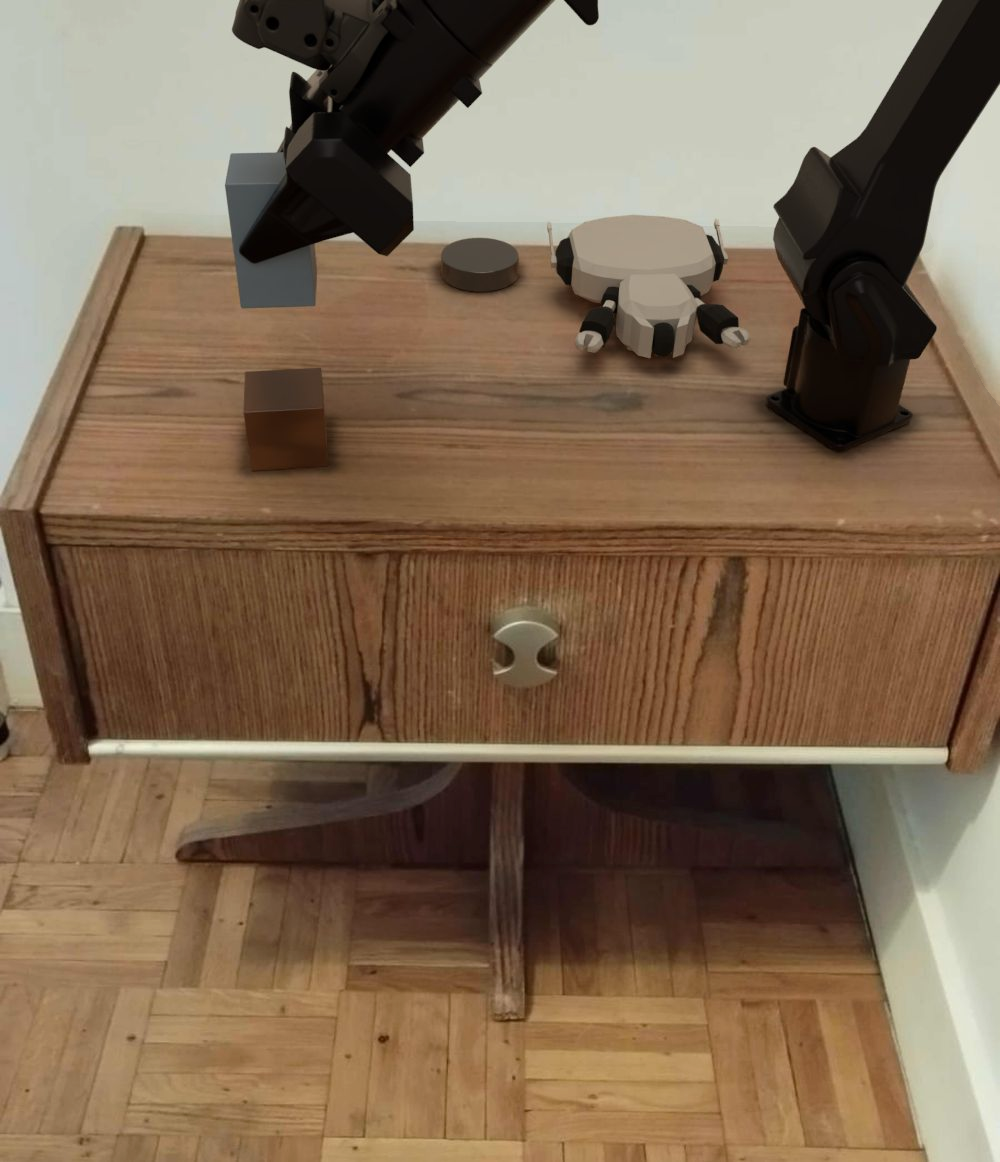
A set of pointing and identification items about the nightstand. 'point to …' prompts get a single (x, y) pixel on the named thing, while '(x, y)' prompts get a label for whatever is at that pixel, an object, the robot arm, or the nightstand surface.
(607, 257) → the robot toy
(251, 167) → the top block
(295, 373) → the base block
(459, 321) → the nightstand surface
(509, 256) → the disc
